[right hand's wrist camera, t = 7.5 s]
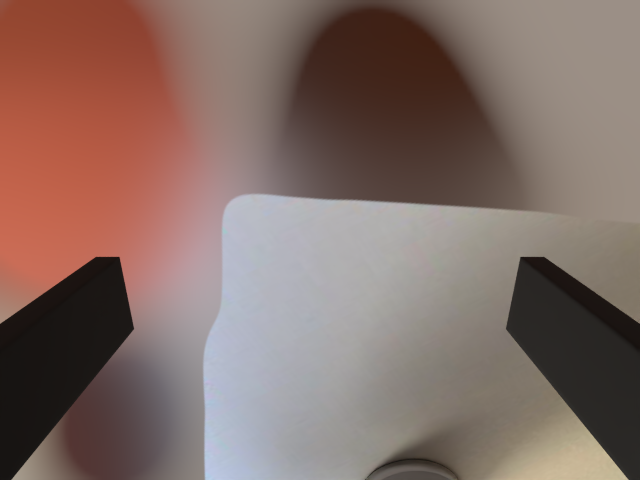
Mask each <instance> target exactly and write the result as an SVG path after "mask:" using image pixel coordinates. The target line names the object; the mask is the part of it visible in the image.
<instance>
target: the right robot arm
mask: <svg viewBox="0 0 640 480" xmlns="http://www.w3.org/2000/svg"><path fill="white" fill-rule="evenodd" d="M133 330H134V327H133V322H132V317H131V312H130V307H129V302H128V297H127V292H126V287H125V282H124V277H123V272H122V267H121V262H120V258H119V257H95V258H94V259H92V260H91V261H90V262H88V263H87V264H85V265H84V266H82V267H81V268H79V269H78V270H77V271H75V272H74V273H72V274H71V275H69V276H68V277H67V278H65V279H64V280H62V281H61V282H59V283H58V284H57V285H55V286H54V287H52V288H51V289H49V290H48V291H47V292H45V293H44V294H42V295H41V296H39V297H38V298H37V299H35V300H34V301H32V302H31V303H29V304H28V305H27V306H25V307H24V308H22V309H21V310H19V311H18V312H17V313H15V314H14V315H12V316H11V317H9V318H8V319H7V320H5V321H4V322H2V323H1V324H0V480H11V479H12V478H13V477H14V476H15V474H16V473H17V472H18V471H19V470H20V468H21V467H22V466H23V465H24V463H25V462H26V461H27V460H28V459H29V457H30V456H31V455H32V454H33V452H34V451H35V450H36V449H37V448H38V446H39V445H40V444H41V443H42V441H43V440H44V439H45V438H46V436H47V435H48V434H49V433H50V432H51V430H52V429H53V428H54V427H55V425H56V424H57V423H58V422H59V420H60V419H61V418H62V417H63V415H64V414H65V413H66V412H67V411H68V409H69V408H70V407H71V406H72V404H73V403H74V402H75V401H76V400H77V398H78V397H79V396H80V395H81V393H82V392H83V391H84V390H85V389H86V387H87V386H88V385H89V384H90V382H91V381H92V380H93V379H94V377H95V376H96V375H97V374H98V373H99V371H100V370H101V369H102V368H103V366H104V365H105V364H106V363H107V362H108V360H109V359H110V358H111V357H112V355H113V354H114V353H115V352H116V350H117V349H118V348H119V347H120V346H121V344H122V343H123V342H124V341H125V339H126V338H127V337H128V336H129V334H130V333H131V332H132V331H133ZM506 330H507V331H508V332H509V333H510V334H511V336H512V337H513V338H514V339H515V341H516V342H517V343H518V344H519V346H520V347H521V348H522V349H523V350H524V352H525V353H526V354H527V355H528V357H529V358H530V359H531V360H532V362H533V363H534V364H535V365H536V366H537V368H538V369H539V370H540V371H541V373H542V374H543V375H544V376H545V377H546V379H547V380H548V381H549V382H550V384H551V385H552V386H553V387H554V389H555V390H556V391H557V392H558V393H559V395H560V396H561V397H562V398H563V400H564V401H565V402H566V403H567V405H568V406H569V407H570V408H571V409H572V411H573V412H574V413H575V414H576V416H577V417H578V418H579V419H580V420H581V422H582V423H583V424H584V425H585V427H586V428H587V429H588V430H589V432H590V433H591V434H592V435H593V436H594V438H595V439H596V440H597V441H598V443H599V444H600V445H601V446H602V448H603V449H604V450H605V451H606V452H607V454H608V455H609V456H610V457H611V459H612V460H613V461H614V462H615V464H616V465H617V466H618V467H619V468H620V470H621V471H622V472H623V473H624V475H625V476H626V477H627V478H628V479H629V480H640V324H639V323H638V322H636V321H635V320H633V319H632V318H631V317H629V316H628V315H626V314H625V313H623V312H622V311H621V310H619V309H618V308H616V307H615V306H613V305H612V304H611V303H609V302H608V301H606V300H605V299H603V298H602V297H601V296H599V295H598V294H596V293H595V292H593V291H592V290H591V289H589V288H588V287H586V286H585V285H583V284H582V283H581V282H579V281H578V280H576V279H575V278H573V277H572V276H571V275H569V274H568V273H566V272H565V271H563V270H562V269H561V268H559V267H558V266H556V265H555V264H553V263H552V262H550V261H549V260H548V259H546V258H545V257H520V262H519V267H518V272H517V277H516V282H515V287H514V292H513V297H512V302H511V307H510V312H509V317H508V322H507V326H506ZM366 480H458V479H457V478H456V476H455V475H454V474H453V473H452V472H451V471H450V470H448V469H447V468H445V467H444V466H442V465H439V464H437V463H434V462H430V461H425V460H403V461H398V462H394V463H391V464H388V465H385V466H383V467H381V468H379V469H378V470H376V471H375V472H373V473H372V474H371V475H370V476H369V477H368V478H367V479H366Z"/></svg>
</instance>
